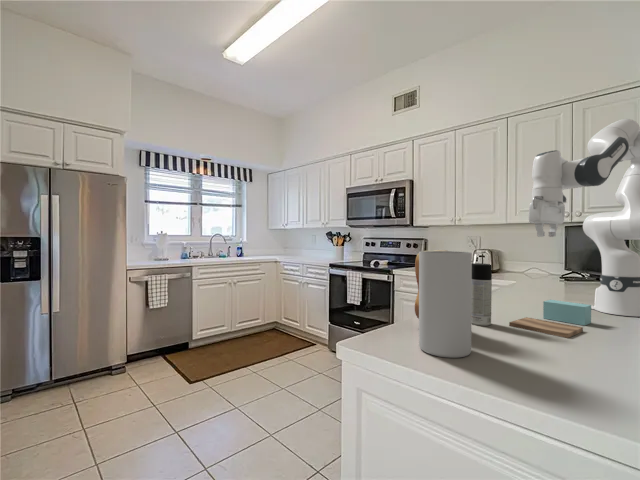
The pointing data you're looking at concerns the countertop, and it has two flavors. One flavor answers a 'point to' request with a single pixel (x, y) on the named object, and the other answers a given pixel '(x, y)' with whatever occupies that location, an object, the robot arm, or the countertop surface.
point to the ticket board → (547, 327)
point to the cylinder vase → (445, 303)
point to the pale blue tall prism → (567, 312)
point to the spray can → (481, 294)
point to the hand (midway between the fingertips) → (546, 236)
